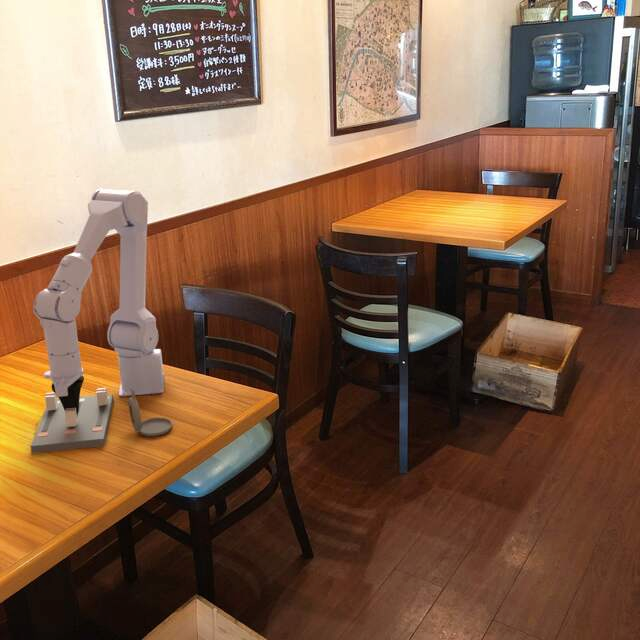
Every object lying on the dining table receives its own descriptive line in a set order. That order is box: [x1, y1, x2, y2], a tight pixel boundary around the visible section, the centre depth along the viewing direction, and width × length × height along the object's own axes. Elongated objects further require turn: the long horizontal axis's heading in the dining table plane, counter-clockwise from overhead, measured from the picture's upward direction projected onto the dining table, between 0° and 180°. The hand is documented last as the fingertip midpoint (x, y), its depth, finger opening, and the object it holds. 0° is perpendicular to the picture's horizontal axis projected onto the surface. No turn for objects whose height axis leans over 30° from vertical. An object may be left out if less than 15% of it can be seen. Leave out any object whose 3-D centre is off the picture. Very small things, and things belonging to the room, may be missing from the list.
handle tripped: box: [65, 408, 78, 427], centre depth 134 cm, size 2×2×3 cm
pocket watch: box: [128, 387, 173, 437], centre depth 133 cm, size 8×8×10 cm
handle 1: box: [44, 391, 58, 411], centre depth 140 cm, size 2×2×3 cm
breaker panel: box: [30, 393, 115, 454], centre depth 137 cm, size 13×20×2 cm, turn 11°
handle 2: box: [95, 387, 108, 406], centre depth 142 cm, size 2×2×3 cm
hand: (72, 414), depth 135 cm, fingers closed
